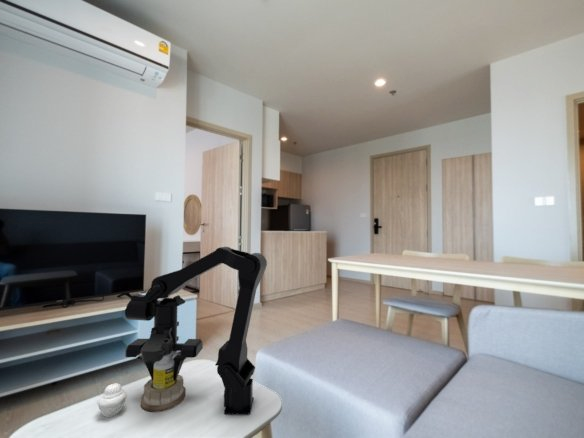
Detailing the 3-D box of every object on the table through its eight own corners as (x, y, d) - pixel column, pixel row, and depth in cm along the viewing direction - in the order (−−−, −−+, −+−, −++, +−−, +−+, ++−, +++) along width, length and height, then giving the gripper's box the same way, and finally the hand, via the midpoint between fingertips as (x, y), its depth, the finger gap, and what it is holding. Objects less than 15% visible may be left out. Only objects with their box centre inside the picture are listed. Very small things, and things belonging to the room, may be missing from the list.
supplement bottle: (166, 397, 71) (166, 358, 71) (148, 394, 72) (148, 356, 72) (179, 385, 76) (179, 349, 76) (162, 382, 77) (163, 347, 78)
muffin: (93, 414, 68) (94, 384, 68) (121, 402, 73) (122, 375, 73) (101, 425, 64) (102, 394, 64) (130, 412, 69) (131, 383, 69)
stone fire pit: (191, 387, 80) (192, 372, 80) (175, 412, 69) (175, 395, 69) (153, 387, 80) (154, 372, 80) (131, 411, 69) (131, 394, 69)
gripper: (112, 331, 67) (110, 397, 66) (188, 332, 67) (187, 398, 66) (138, 317, 78) (136, 373, 77) (203, 317, 78) (202, 374, 77)
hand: (164, 380), depth 74 cm, fingers closed on supplement bottle, 5 cm apart
